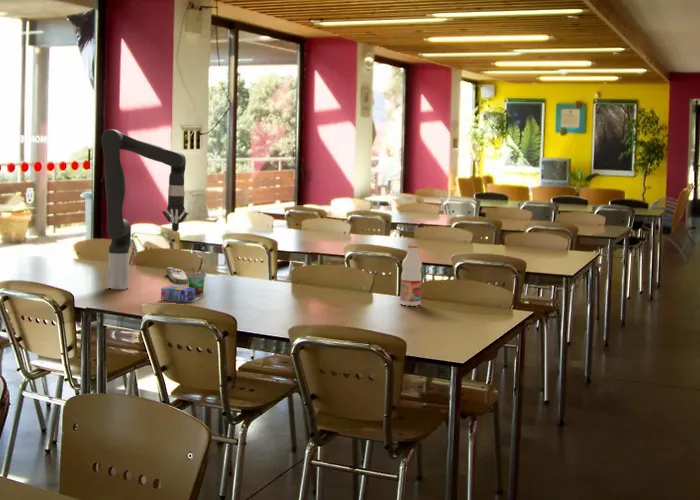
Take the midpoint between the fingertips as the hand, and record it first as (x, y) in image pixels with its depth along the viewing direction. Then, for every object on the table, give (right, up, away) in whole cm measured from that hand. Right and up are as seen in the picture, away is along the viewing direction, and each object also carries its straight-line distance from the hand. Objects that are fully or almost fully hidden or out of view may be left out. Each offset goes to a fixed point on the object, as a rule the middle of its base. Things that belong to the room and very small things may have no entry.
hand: (175, 231), depth 429 cm
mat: (+8, -31, -20) cm, 38 cm away
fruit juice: (+111, -35, -12) cm, 117 cm away
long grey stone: (-7, -24, +40) cm, 47 cm away
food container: (+11, -29, -1) cm, 32 cm away
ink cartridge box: (0, -28, -20) cm, 34 cm away
